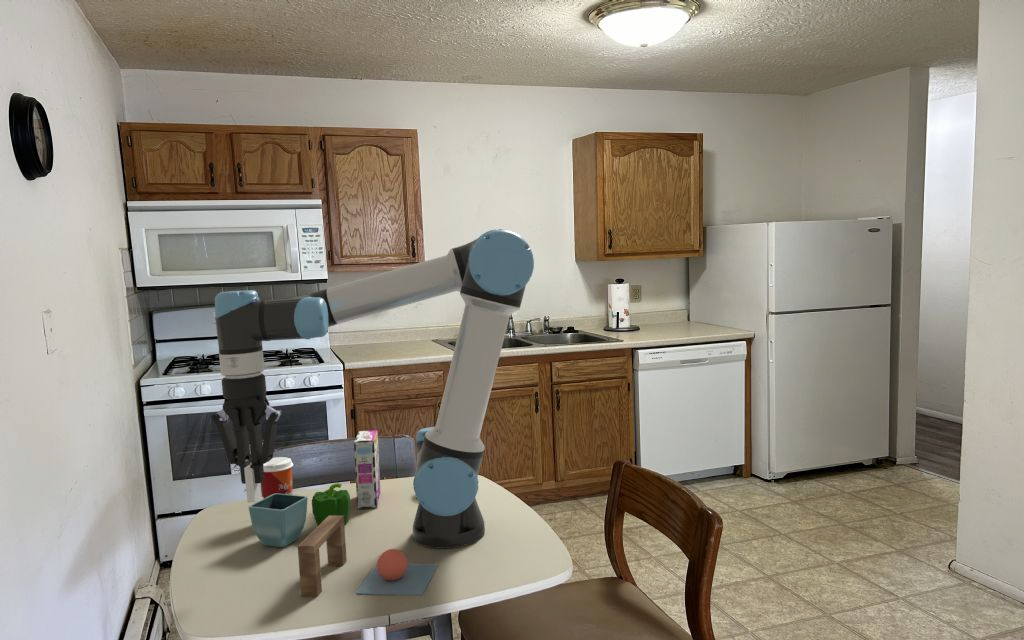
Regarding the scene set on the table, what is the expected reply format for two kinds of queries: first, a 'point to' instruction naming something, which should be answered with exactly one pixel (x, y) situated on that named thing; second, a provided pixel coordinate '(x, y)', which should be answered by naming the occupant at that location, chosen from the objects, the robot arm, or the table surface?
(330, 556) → the bridge
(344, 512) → the bell pepper
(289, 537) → the flower pot
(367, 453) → the candy bar box
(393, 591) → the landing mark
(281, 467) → the paper cup
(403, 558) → the ball
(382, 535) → the table surface
